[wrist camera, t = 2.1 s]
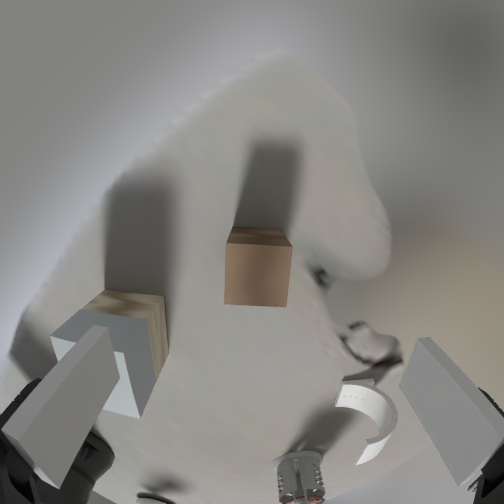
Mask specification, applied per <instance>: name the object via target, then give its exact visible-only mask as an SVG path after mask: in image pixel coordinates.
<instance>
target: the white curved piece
mask: <svg viewBox="0 0 504 504" xmlns="http://www.w3.org/2000/svg"><path fill="white" fill-rule="evenodd" d="M374 383H375V381H374V379H373V378H371V379H361V380H349V381H342V382H341V385H340V388H339V391H338V394H337V397H336V400H335V403H334V404H335V407H348V408H353V409H356V410H359V411H361V412H363V413H365V414H367V415H368V416H369V417H371V418H372V419H373V420H374V421H375V423H376V424H377V426H378V428H379V432H380V435H378V436H376V437H374V438H371V439H367V440H365V442H364V444H363V446H362V447H361V449H360V451H359V452H358V454H357V456H356V457H355V459H354V463H355V465H359V464H362V463H365V462H367V461H369V460H371V459H372V458H374V457H375V456H376V455H377V454H378V453H379V452H380V451H381V449H382V448H383V446H384V445H385V443H386V441H387V440H388V438H389V437H390V435H391V433H392V432H393V430H394V428H395V427H396V424H397V421H398V412H397V409H396V406H395V404H394V403H393V401H392V400H391V399H390V397H389V396H388V395H386V394H385V393H384V392H382V391H381V390H379V389H377V388H376V387H373V385H374Z"/></svg>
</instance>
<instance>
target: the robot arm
mask: <svg viewBox="0 0 504 504" xmlns="http://www.w3.org/2000/svg"><path fill="white" fill-rule="evenodd" d="M119 379H120V375H119V371H118V367H117V363H116V359H115V355H114V350H113V346H112V341H111V336H110V331H109V327H104V326H98V325H93V326H92V327H91V328H90V329H89V330H88V331H87V332H86V333H85V334H84V335H83V336H82V337H81V338H80V339H79V340H78V342H77V343H76V344H75V345H74V346H73V347H72V348H71V349H70V350H69V351H68V352H67V353H66V354H65V355H64V356H63V357H62V359H61V360H60V361H59V362H58V363H57V364H56V365H55V366H54V367H53V368H52V369H51V371H50V372H49V373H48V374H47V375H46V376H45V377H44V378H43V380H41V379H39V378H37V379H36V380H34V381H32V382H31V383H29V384H27V385H26V387H25V388H24V389H23V390H22V391H21V392H20V395H19V394H18V396H17V397H16V398H15V399H14V401H12V402H11V404H10V405H9V406H8V407H7V408H6V409H5V411H4V412H3V413H2V414H0V504H87V502H88V500H89V497H90V494H91V492H92V490H93V487H94V485H95V482H96V481H97V480H98V479H99V478H100V477H101V476H102V475H103V474H104V473H105V472H106V471H107V470H108V469H110V468H111V466H112V464H113V461H114V454H113V452H112V451H111V449H110V448H109V447H108V446H107V445H106V444H105V443H104V442H103V441H102V440H101V439H99V438H98V437H97V436H95V435H94V434H93V433H91V432H90V430H91V428H92V426H93V424H94V422H95V421H96V419H97V417H98V415H99V414H100V412H101V410H102V408H103V407H104V405H105V403H106V401H107V400H108V398H109V396H110V395H111V393H112V391H113V389H114V388H115V386H116V384H117V383H118V381H119ZM399 387H400V388H401V390H402V392H403V393H404V395H405V396H406V398H407V399H408V401H409V403H410V404H411V406H412V408H413V409H414V411H415V412H416V414H417V416H418V417H419V419H420V421H421V422H422V424H423V426H424V427H425V429H426V431H427V432H428V434H429V436H430V437H431V439H432V441H433V443H434V444H435V446H436V448H437V450H438V451H439V453H440V455H441V457H442V458H443V460H444V462H445V464H446V466H447V467H448V469H449V471H450V473H451V475H452V477H453V479H454V480H455V482H456V484H457V486H460V485H462V484H464V483H466V482H467V481H469V480H471V479H472V478H473V477H474V476H475V475H476V474H477V473H478V472H479V471H480V470H481V471H482V473H483V474H482V475H481V476H480V477H479V478H478V479H477V480H475V481H474V482H473V483H472V485H470V486H469V488H468V490H467V491H470V490H471V489H472V488H474V487H475V485H477V484H478V485H477V487H476V488H474V490H473V491H472V492H476V494H475V499H474V503H473V504H504V412H503V411H502V410H501V408H499V406H498V405H497V404H496V403H495V402H494V400H493V399H492V398H491V397H490V396H489V395H488V394H487V393H486V392H485V391H483V390H481V389H480V388H477V386H476V385H475V384H474V383H473V382H472V381H471V380H470V379H469V378H468V377H467V375H466V374H465V373H464V372H463V371H462V370H461V369H460V368H459V367H458V366H457V365H456V364H455V363H454V362H453V360H452V359H451V358H450V357H449V356H447V354H446V353H445V352H444V351H443V350H442V349H441V348H440V347H439V346H438V345H437V344H436V343H435V342H434V341H433V340H432V339H431V338H430V337H426V338H418V339H417V340H416V343H415V346H414V349H413V352H412V355H411V357H410V360H409V362H408V365H407V367H406V370H405V372H404V375H403V377H402V380H401V382H400V384H399Z"/></svg>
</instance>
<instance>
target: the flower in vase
mask: <svg viewBox="0 0 504 504" xmlns="http://www.w3.org/2000/svg"><path fill="white" fill-rule="evenodd" d="M136 502H137V504H166V503H164V502H161V501H158V500H154V499H149V498H139V499H138V500H136Z"/></svg>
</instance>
